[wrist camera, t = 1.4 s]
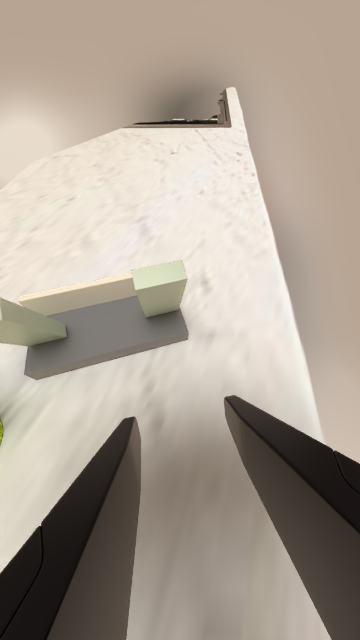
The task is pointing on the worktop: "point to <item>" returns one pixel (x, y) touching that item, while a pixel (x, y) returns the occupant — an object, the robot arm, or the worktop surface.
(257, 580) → the worktop surface
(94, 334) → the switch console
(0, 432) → the soap dispenser
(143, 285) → the flip switch
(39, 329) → the hold switch
